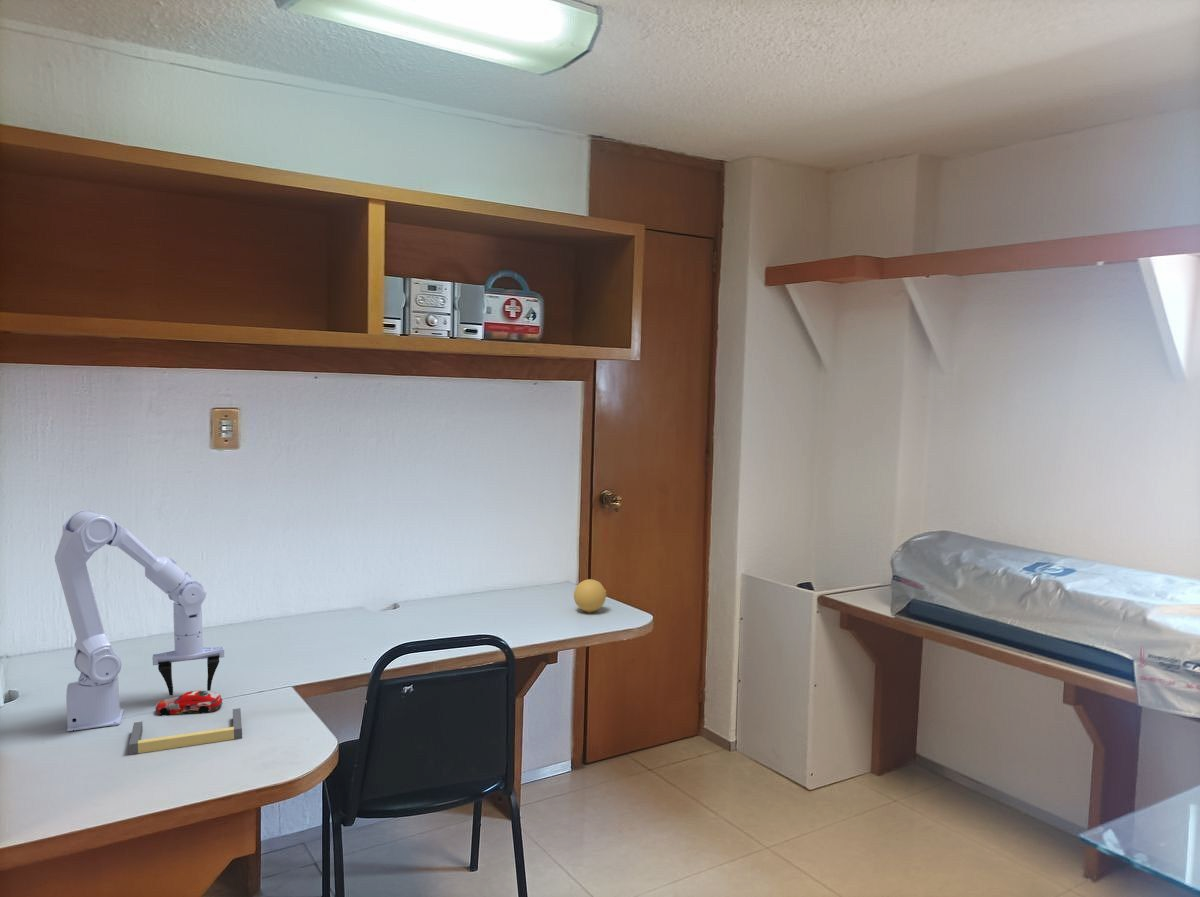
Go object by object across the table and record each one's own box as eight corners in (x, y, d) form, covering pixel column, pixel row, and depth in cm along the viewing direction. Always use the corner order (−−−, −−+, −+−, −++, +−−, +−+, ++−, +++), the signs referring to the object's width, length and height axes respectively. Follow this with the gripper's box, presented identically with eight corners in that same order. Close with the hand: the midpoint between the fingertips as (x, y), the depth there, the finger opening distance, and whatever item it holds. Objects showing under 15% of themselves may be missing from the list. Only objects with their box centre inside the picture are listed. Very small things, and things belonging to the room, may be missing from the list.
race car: (152, 718, 187) (151, 699, 186) (160, 708, 192) (160, 690, 192) (217, 714, 189) (217, 696, 188) (224, 704, 194) (223, 687, 194)
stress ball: (596, 619, 265) (617, 595, 268) (575, 597, 263) (596, 573, 266) (583, 616, 274) (604, 593, 278) (562, 594, 272) (584, 571, 275)
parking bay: (129, 754, 168) (128, 744, 168) (134, 732, 178) (134, 722, 178) (242, 738, 176) (241, 728, 176) (240, 717, 186) (240, 708, 186)
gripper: (223, 624, 203) (225, 681, 204) (153, 631, 197) (155, 690, 198) (223, 632, 196) (225, 691, 197) (151, 640, 190) (153, 700, 191)
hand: (190, 691), depth 197 cm, fingers open, 7 cm apart
